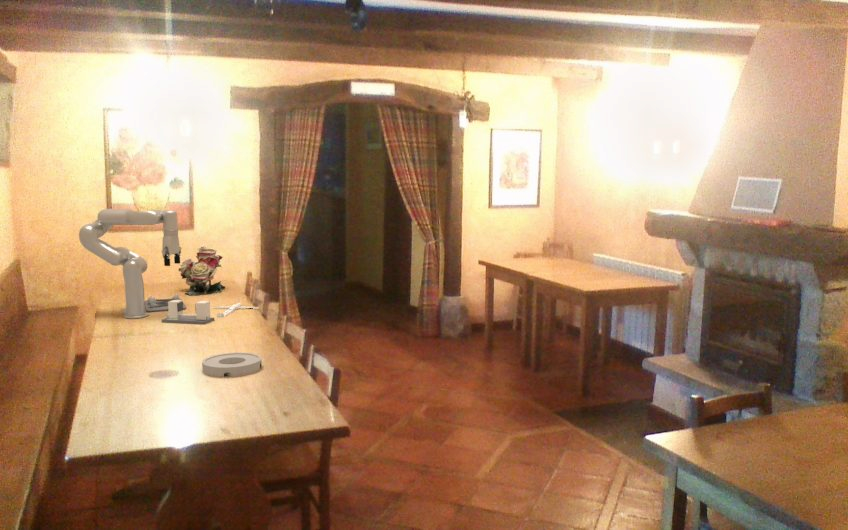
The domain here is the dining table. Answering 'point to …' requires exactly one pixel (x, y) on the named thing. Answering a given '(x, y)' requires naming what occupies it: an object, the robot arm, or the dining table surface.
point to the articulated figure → (231, 309)
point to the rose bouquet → (202, 272)
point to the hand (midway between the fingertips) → (172, 264)
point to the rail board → (187, 321)
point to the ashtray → (231, 364)
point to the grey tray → (159, 304)
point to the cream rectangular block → (175, 308)
